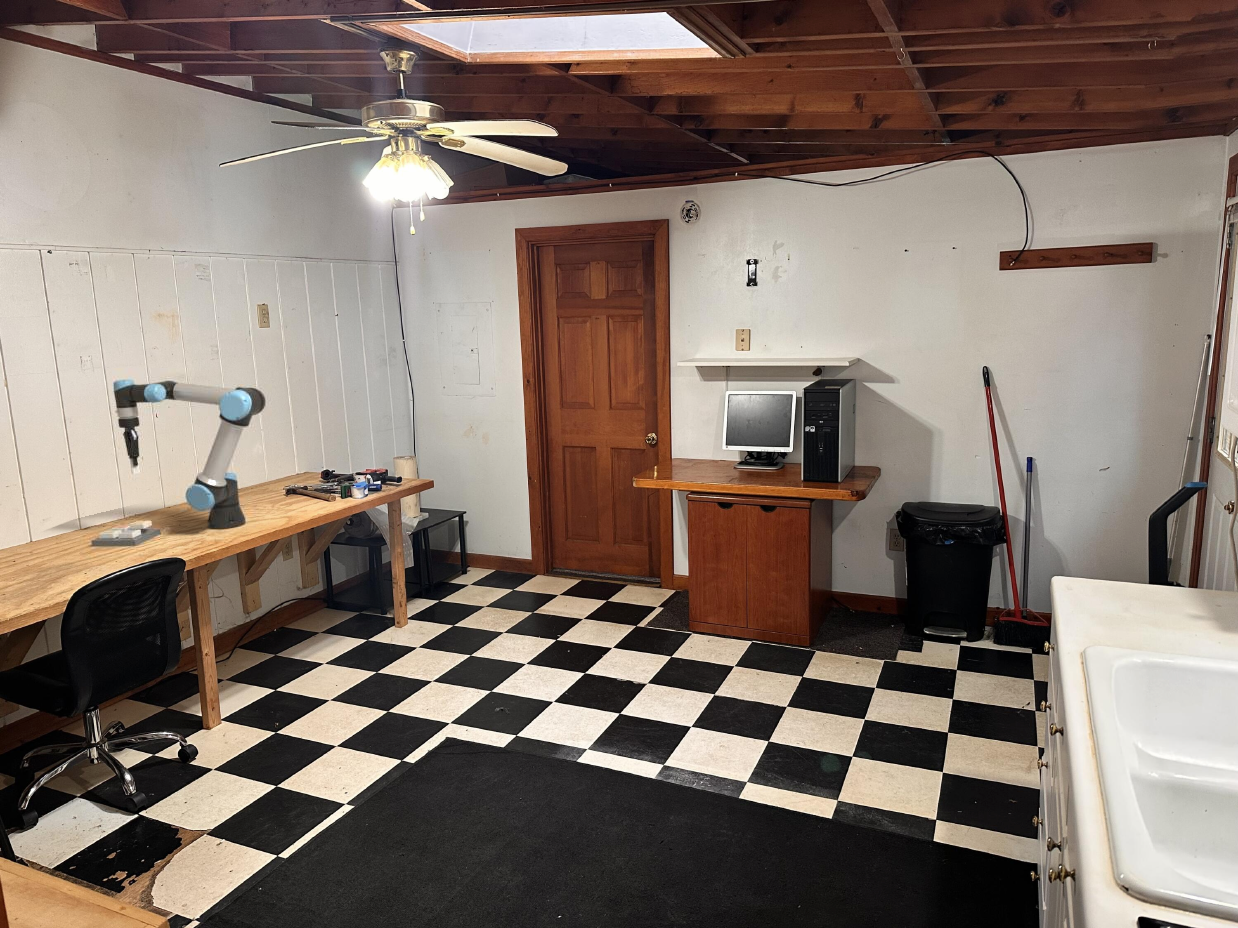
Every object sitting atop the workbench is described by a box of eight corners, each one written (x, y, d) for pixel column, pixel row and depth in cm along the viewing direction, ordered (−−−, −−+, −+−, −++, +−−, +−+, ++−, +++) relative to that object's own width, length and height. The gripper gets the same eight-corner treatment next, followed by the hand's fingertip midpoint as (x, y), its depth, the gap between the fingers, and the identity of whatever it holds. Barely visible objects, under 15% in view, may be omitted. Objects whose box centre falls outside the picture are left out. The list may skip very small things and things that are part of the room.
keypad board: (160, 533, 363) (160, 528, 362) (135, 545, 345) (134, 540, 345) (119, 534, 364) (118, 528, 363) (92, 546, 346) (91, 540, 346)
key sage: (122, 539, 353) (121, 529, 352) (114, 543, 348) (112, 533, 347) (109, 539, 354) (107, 529, 353) (100, 543, 348) (98, 533, 347)
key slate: (141, 539, 353) (140, 529, 352) (133, 542, 347) (132, 532, 346) (128, 539, 353) (126, 529, 352) (119, 543, 347) (118, 533, 347)
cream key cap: (152, 529, 360) (151, 520, 360) (144, 533, 355) (143, 523, 354) (139, 529, 361) (137, 520, 360) (130, 533, 355) (129, 523, 354)
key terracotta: (134, 534, 361) (133, 524, 360) (126, 537, 355) (124, 527, 355) (121, 534, 361) (119, 524, 361) (112, 537, 356) (111, 528, 355)
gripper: (113, 417, 358) (121, 472, 363) (122, 419, 349) (130, 476, 353) (133, 415, 364) (141, 470, 368) (142, 417, 354) (150, 473, 359)
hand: (136, 473), depth 361 cm, fingers closed
